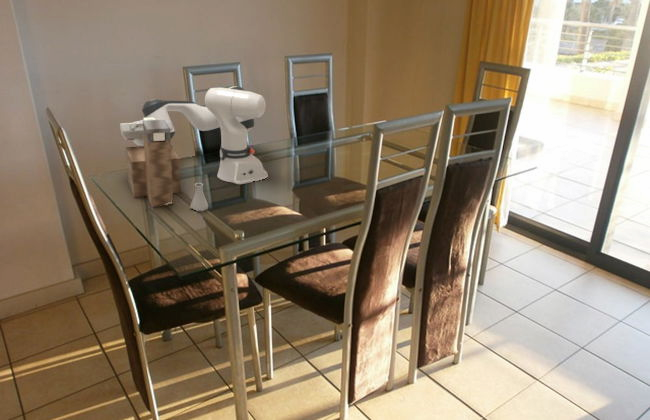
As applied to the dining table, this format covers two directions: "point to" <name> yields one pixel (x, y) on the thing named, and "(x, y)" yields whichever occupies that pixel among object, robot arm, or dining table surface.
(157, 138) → the gauge bar
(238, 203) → the dining table surface
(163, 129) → the walnut holder
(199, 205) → the flask
